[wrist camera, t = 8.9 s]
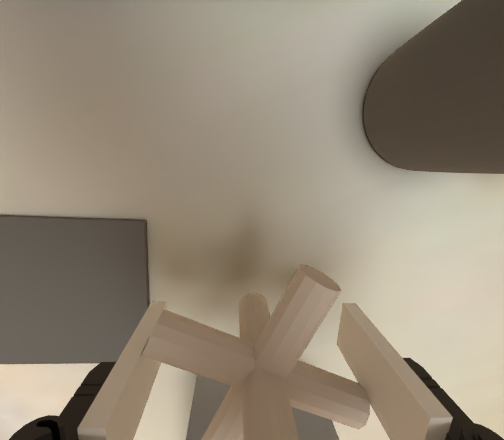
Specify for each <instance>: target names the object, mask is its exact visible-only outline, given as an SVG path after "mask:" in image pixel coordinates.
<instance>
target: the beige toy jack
mask: <svg viewBox="0 0 504 440" xmlns="http://www.w3.org/2000/svg"><path fill="white" fill-rule="evenodd" d="M340 291H341V289H340V287H339V286H338V285H337V284H336V283H335V282H334V281H333V280H332V279H331V278H329V277H328V276H326V275H325V274H323V273H322V272H320V271H318V270H316V269H314V268H312V267H309V266H306V265H300V266H299V268H298V269H297V271H296V273H295V275H294V276H293V278H292V280H291V282H290V283H289V285H288V287H287V289H286V290H285V292H284V294H283V296H282V298H281V299H280V301H279V303H278V305H277V306H276V308H275V310H274V312H273V313H272V315H271V317H270V313H269V309H268V305H267V301H266V299H265V298H264V297H263V296H261V295H260V294H254V293H252V294H248V295H246V296H245V297H243V298H242V300H241V301H240V304H239V323H240V338H238V337H235V336H232V335H230V334H227V333H224V332H222V331H219V330H217V329H214V328H211V327H209V326H206V325H203V324H201V323H198V322H195V321H193V320H190V319H187V318H185V317H182V316H180V315H177V314H174V313H172V312H169V311H166V310H164V309H163V311H162V313H161V315H160V317H159V319H158V321H157V323H156V326H155V328H154V330H153V332H152V334H151V336H150V338H149V340H148V343H147V345H146V347H145V349H144V351H143V353H142V356H145V357H148V358H151V359H154V360H157V361H160V362H163V363H166V364H169V365H171V366H174V367H177V368H180V369H183V370H186V371H189V372H192V373H195V374H198V375H201V376H204V377H207V378H210V379H212V380H215V381H218V382H221V383H224V384H227V385H230V386H231V388H230V389H229V391H228V393H227V395H226V396H225V398H224V400H223V402H222V404H221V405H220V407H219V409H218V411H217V412H216V414H215V416H214V418H213V419H212V421H211V423H210V425H209V427H208V428H207V430H206V432H205V434H204V435H203V437H202V439H201V440H299V437H298V433H297V428H296V424H295V420H294V415H293V411H292V407H295V408H298V409H300V410H303V411H306V412H309V413H312V414H315V415H318V416H321V417H324V418H327V419H330V420H333V421H336V422H339V423H341V424H344V425H347V426H350V427H353V428H357V429H360V428H361V427H363V426H364V425H366V422H367V420H368V417H369V415H370V401H369V398H368V396H367V393H366V391H365V389H364V388H363V387H362V386H361V385H360V384H359V383H357V382H354V381H351V380H349V379H346V378H343V377H341V376H338V375H335V374H333V373H330V372H328V371H325V370H322V369H320V368H317V367H314V366H312V365H309V364H306V363H304V362H301V361H298V360H299V358H300V356H301V355H302V353H303V351H304V350H305V348H306V347H307V345H308V343H309V342H310V340H311V338H312V337H313V335H314V334H315V332H316V330H317V329H318V327H319V325H320V324H321V322H322V321H323V319H324V317H325V316H326V314H327V312H328V311H329V309H330V307H331V306H332V304H333V303H334V301H335V299H336V298H337V296H338V294H339V293H340ZM291 406H292V407H291Z"/></svg>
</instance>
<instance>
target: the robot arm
mask: <svg viewBox="0 0 504 440" xmlns="http://www.w3.org/2000/svg"><path fill="white" fill-rule="evenodd" d="M163 309H164V310H166V302H151V304H150V306H149V307H148V309H147V311H146V312H145V314H144V316H143V317H142V319H141V321H140V323H139V324H138V326H137V328H136V329H135V331H134V333H133V335H132V336H131V338H130V340H129V341H128V343H127V345H126V346H125V348H124V350H123V352H122V353H121V355H120V357H119V358H118V360H117V362H101V363H100V364H98V365H97V366H96V367H95V368H94V369H92V370H91V371H90V372H89V373H88V375H87V376H86V378H85V379H84V381H83V382H82V383H81V386H80V387H79V388H78V389H77V391H76V392H75V394H74V396H73V397H72V398H71V400H70V401H69V402H68V404H67V405H66V407H65V408H64V410H63V411H62V413H61V414H60V416H59V417H58V416H49V415H48V416H45V417H41V418H38V419H36V420H34V421H32V422H30V423H28V424H26V425H25V426H23V427H22V428H21V429H20V430H18V431H17V432H16V433H14V434H13V436H12V437H11V438H10V439H9V440H133V438H134V436H135V433H136V430H137V427H138V425H139V422H140V419H141V416H142V414H143V411H144V408H145V405H146V403H147V400H148V397H149V394H150V391H151V389H152V386H153V383H154V380H155V378H156V375H157V372H158V369H159V367H160V364H161V362H160V361H157V360H154V359H151V358H148V357H145V356H142V353H143V351H144V349H145V347H146V345H147V343H148V340H149V338H150V336H151V334H152V332H153V330H154V328H155V326H156V323H157V321H158V319H159V317H160V315H161V313H162V311H163ZM337 345H338V347H339V349H340V351H341V353H342V354H343V356H344V358H345V360H346V361H347V363H348V365H349V367H350V369H351V370H352V372H353V374H354V376H355V378H356V379H357V381H358V383H359V384H360V385H361V386H362V387H363V388H364V389H365V391H366V393H367V396H368V398H369V401H370V404H371V406H372V408H373V410H374V411H375V413H376V415H377V417H378V419H379V420H380V422H381V424H382V426H383V427H384V429H385V431H386V433H387V435H388V436H389V438H390V440H504V439H503V438H502V437H500V436H499V435H498V434H496V433H495V432H493V431H492V430H490V429H488V428H486V427H484V426H482V425H479V424H475V423H473V422H472V421H471V420H470V419H469V418H468V416H467V415H466V414H465V413H464V412H463V411H462V410H461V409H460V408H459V407H458V406H457V404H456V403H455V402H454V401H453V400H452V399H451V398H450V397H449V396H448V395H447V393H446V392H445V391H444V390H443V389H442V388H440V386H439V385H438V384H437V383H436V381H435V380H434V379H432V377H431V376H430V375H429V374H428V373H427V372H426V370H425V369H424V368H423V367H422V366H420V365H419V364H418V363H416V362H415V361H413V360H412V359H411V358H402V357H401V356H400V355H399V354H398V352H397V351H396V350H395V349H394V348H393V347H392V345H391V344H390V343H389V342H388V341H387V340H386V338H385V337H384V336H383V335H382V334H381V333H380V331H379V330H378V329H377V328H376V327H375V326H374V324H373V323H372V322H371V321H370V320H369V318H368V317H367V316H366V315H365V314H364V313H363V311H362V310H361V309H360V308H359V307H358V306H357V304H356V303H343V305H342V312H341V319H340V325H339V332H338V339H337Z"/></svg>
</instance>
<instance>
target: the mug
mask: <svg viewBox="0 0 504 440" xmlns="http://www.w3.org/2000/svg"><path fill="white" fill-rule="evenodd" d="M364 126H365V130H366V134H367V137H368V139H369V141H370V143H371V145H372V147H373V148H374V149H375V151H376V152H377V153H378V154H379V155H380V156H381V157H382V158H383V159H384V160H386V161H387V162H389V163H390V164H392V165H394V166H397V167H399V168H403V169H408V170H414V171H428V172H452V173H492V174H504V0H462V1H461V2H459V3H458V4H457V5H455V6H454V7H453V8H451V9H450V10H448V11H447V12H446V13H444V14H443V15H442V16H440V17H439V18H438V19H436V20H435V21H434V22H432V23H431V24H430V25H428V26H427V27H426V28H425V29H423V30H422V31H421V32H419V33H418V34H417V35H415V36H414V37H413V38H411V39H410V40H409V41H407V42H406V43H405V44H404V45H403V46H401V47H400V48H399V49H398V50H396V51H395V52H394V53H393V54H392V55H391V56H390V57H389V58H388V59H387V60H386V61H385V62H384V63H383V64H382V65H381V67H380V68H379V69H378V71H377V72H376V74H375V75H374V77H373V79H372V81H371V83H370V86H369V88H368V91H367V94H366V98H365V103H364Z"/></svg>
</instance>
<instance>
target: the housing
mask: <svg viewBox="0 0 504 440" xmlns="http://www.w3.org/2000/svg"><path fill="white" fill-rule="evenodd" d="M230 388H231V386H230V385H227V384H224V383H221V382H218V381H215V380H212V379H210V378H207V377H204V376H201V375H197V380H196V386H195V391H194V397H193V403H192V408H191V414H190V420H189V425H188V431H187V437H186V440H201V439H202V437H203V435H204V434H205V432H206V430H207V428H208V427H209V425H210V423H211V421H212V419H213V418H214V416H215V414H216V412H217V411H218V409H219V407H220V405H221V404H222V402H223V400H224V398H225V396H226V395H227V393H228V391H229V389H230ZM291 407H292V406H291ZM292 411H293V415H294V420H295V424H296V428H297V433H298V437H299V440H339V438H338V435H337V433H336V430H335V428H334V425H333V422H332V420H330V419H327V418H324V417H321V416H318V415H315V414H312V413H309V412H306V411H303V410H300V409H298V408H295V407H292Z"/></svg>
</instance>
